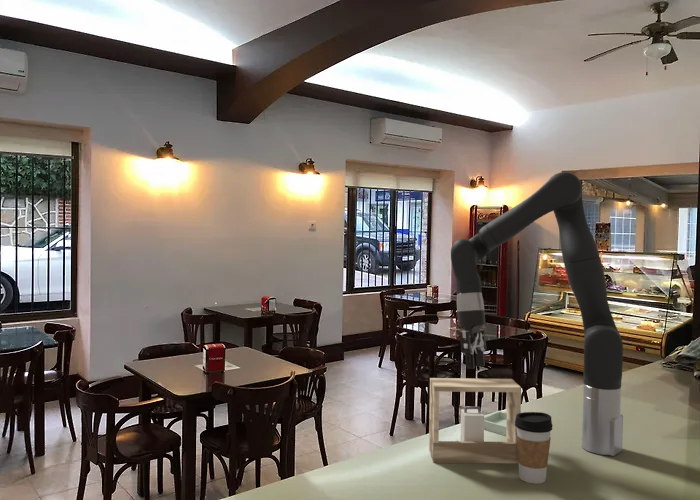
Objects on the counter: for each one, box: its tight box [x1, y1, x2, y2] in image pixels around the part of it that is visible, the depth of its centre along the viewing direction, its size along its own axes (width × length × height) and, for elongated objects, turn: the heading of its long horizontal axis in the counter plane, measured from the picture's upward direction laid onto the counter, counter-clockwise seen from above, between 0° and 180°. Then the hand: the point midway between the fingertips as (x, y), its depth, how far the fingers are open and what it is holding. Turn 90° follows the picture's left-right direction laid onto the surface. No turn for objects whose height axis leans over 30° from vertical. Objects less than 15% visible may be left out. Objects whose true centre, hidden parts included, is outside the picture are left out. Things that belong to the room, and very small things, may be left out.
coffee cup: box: [515, 411, 553, 485], centre depth 133 cm, size 8×8×15 cm
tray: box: [484, 410, 507, 437], centre depth 167 cm, size 12×12×2 cm
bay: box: [428, 377, 522, 464], centre depth 146 cm, size 8×22×19 cm, turn 90°
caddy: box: [459, 405, 485, 442], centre depth 147 cm, size 5×5×12 cm
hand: (475, 367), depth 159 cm, fingers open, 8 cm apart
